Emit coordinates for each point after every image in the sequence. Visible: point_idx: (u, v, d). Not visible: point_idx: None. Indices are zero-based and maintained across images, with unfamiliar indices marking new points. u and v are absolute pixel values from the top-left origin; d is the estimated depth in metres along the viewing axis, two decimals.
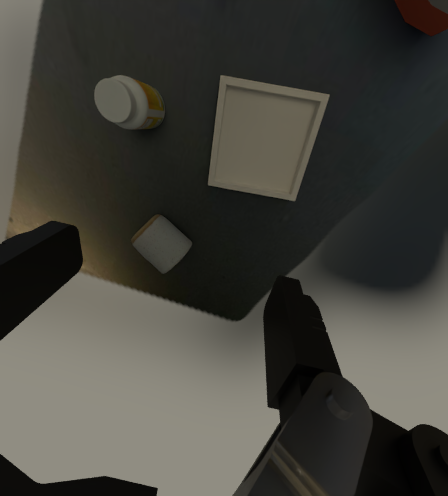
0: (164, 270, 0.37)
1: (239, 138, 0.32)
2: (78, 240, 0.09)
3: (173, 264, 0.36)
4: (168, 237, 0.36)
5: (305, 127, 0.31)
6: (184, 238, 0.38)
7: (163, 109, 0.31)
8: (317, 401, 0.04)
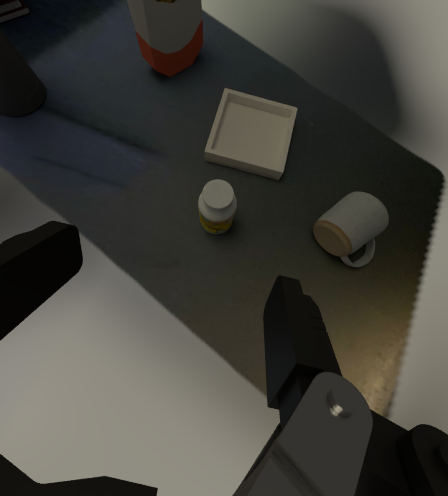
0: (385, 210, 0.31)
1: (246, 150, 0.39)
2: (78, 240, 0.09)
3: (375, 198, 0.31)
4: (340, 205, 0.33)
5: (242, 107, 0.41)
6: (340, 201, 0.35)
7: None
8: (317, 401, 0.04)
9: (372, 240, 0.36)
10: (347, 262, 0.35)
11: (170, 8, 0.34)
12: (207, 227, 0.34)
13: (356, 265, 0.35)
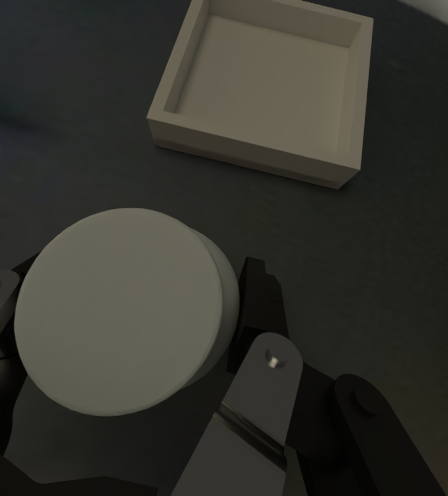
0: None
1: (255, 119, 0.16)
2: None
3: None
4: None
5: (243, 26, 0.18)
6: None
7: None
8: (257, 359, 0.05)
9: None
10: None
11: None
12: None
13: None
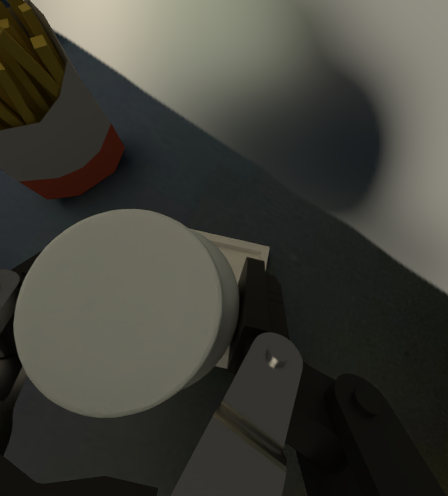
0: None
1: None
2: None
3: None
4: None
5: None
6: None
7: None
8: (257, 359, 0.05)
9: None
10: None
11: (36, 130, 0.20)
12: None
13: None
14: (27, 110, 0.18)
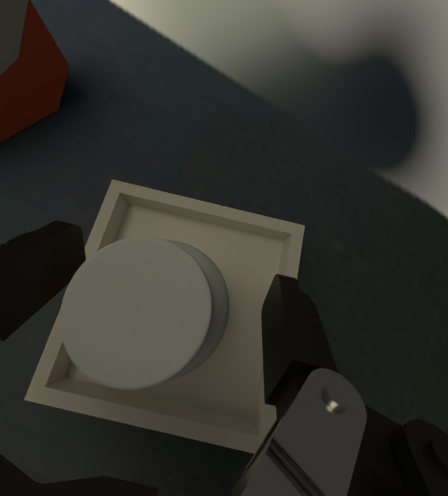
0: None
1: None
2: (81, 240, 0.09)
3: None
4: None
5: (165, 219, 0.17)
6: None
7: None
8: (312, 397, 0.04)
9: None
10: None
11: None
12: None
13: None
14: None
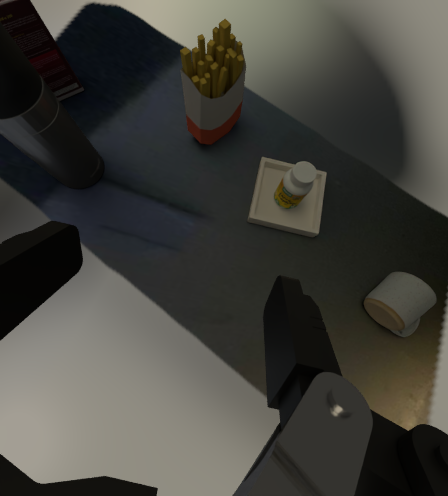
0: (433, 294, 0.36)
1: (282, 211, 0.45)
2: (78, 240, 0.09)
3: (424, 283, 0.36)
4: (392, 286, 0.37)
5: (276, 171, 0.47)
6: (388, 277, 0.40)
7: None
8: (317, 401, 0.04)
9: None
10: (396, 333, 0.39)
11: (220, 100, 0.39)
12: (284, 202, 0.42)
13: (403, 335, 0.40)
14: (221, 89, 0.38)
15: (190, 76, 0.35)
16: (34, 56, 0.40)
